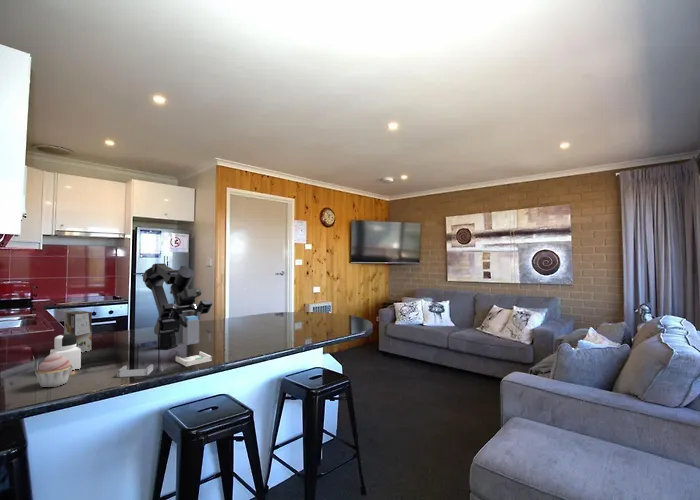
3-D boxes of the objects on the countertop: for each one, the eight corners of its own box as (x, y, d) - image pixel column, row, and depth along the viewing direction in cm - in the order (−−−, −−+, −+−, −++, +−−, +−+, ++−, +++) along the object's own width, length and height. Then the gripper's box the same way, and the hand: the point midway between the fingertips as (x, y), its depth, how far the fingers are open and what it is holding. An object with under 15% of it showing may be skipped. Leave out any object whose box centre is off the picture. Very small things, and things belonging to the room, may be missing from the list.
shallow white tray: (124, 371, 123) (124, 365, 123) (153, 369, 125) (153, 364, 125) (116, 377, 117) (116, 371, 117) (147, 375, 119) (147, 369, 119)
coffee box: (92, 350, 149) (92, 311, 150) (74, 354, 144) (75, 314, 144) (80, 347, 154) (80, 310, 154) (62, 351, 148) (63, 312, 148)
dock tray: (175, 360, 136) (175, 355, 136) (200, 355, 143) (200, 350, 143) (186, 366, 129) (186, 360, 129) (211, 360, 136) (212, 355, 136)
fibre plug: (182, 342, 138) (182, 316, 138) (194, 340, 141) (194, 315, 141) (187, 344, 135) (187, 317, 135) (199, 342, 138) (199, 316, 138)
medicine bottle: (74, 365, 130) (75, 331, 130) (80, 369, 125) (81, 334, 125) (49, 370, 124) (50, 335, 124) (54, 374, 120) (55, 338, 120)
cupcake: (81, 379, 115) (81, 348, 115) (55, 390, 106) (56, 356, 106) (53, 379, 115) (53, 347, 116) (25, 390, 106) (25, 356, 106)
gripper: (161, 282, 134) (172, 315, 126) (210, 280, 148) (223, 309, 140) (153, 302, 139) (164, 334, 132) (201, 297, 153) (213, 327, 145)
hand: (192, 326), depth 137 cm, fingers closed on fibre plug, 4 cm apart
